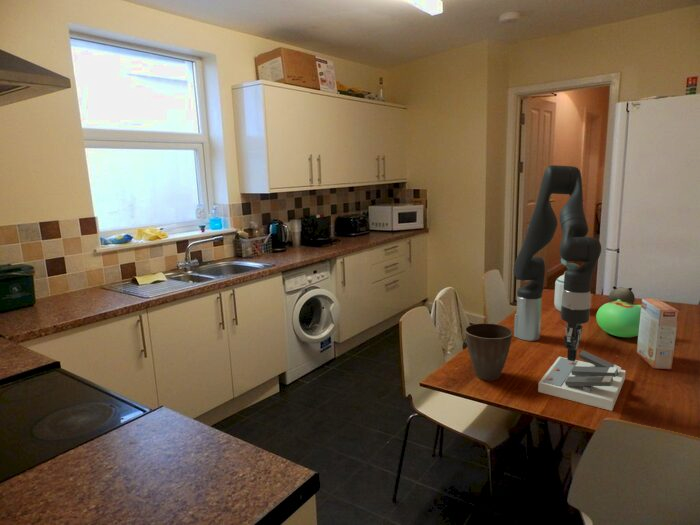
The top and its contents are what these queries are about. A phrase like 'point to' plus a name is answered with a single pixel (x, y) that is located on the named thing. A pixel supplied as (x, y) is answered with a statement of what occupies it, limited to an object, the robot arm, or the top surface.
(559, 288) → the soap bottle
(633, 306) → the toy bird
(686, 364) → the top surface
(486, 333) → the plant pot
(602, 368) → the rocker
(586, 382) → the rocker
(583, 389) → the switch unit
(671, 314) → the cracker box
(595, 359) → the block
